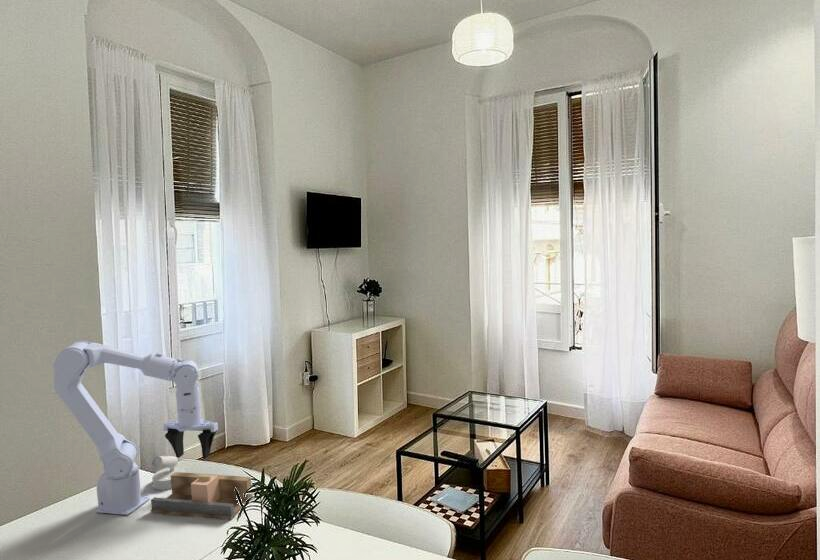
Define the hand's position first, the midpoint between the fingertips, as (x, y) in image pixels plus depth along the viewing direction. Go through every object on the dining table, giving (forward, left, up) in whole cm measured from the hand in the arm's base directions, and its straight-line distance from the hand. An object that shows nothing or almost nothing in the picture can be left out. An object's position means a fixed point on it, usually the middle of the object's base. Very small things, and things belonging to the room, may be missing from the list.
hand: (193, 456), depth 136 cm
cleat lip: (+6, -10, -9) cm, 15 cm away
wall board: (+6, -6, -10) cm, 13 cm away
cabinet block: (+7, -6, -9) cm, 13 cm away
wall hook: (-11, +4, -10) cm, 15 cm away
